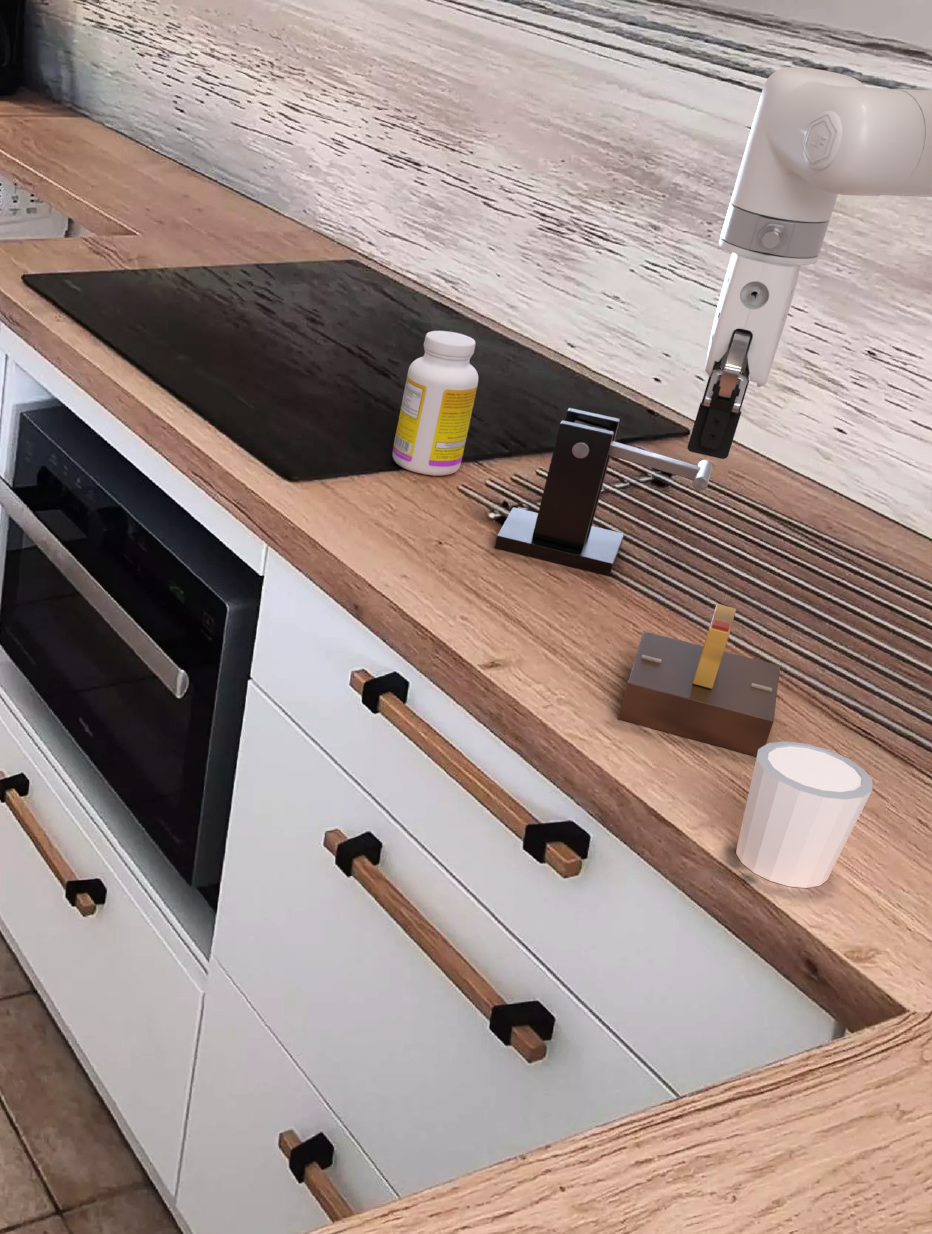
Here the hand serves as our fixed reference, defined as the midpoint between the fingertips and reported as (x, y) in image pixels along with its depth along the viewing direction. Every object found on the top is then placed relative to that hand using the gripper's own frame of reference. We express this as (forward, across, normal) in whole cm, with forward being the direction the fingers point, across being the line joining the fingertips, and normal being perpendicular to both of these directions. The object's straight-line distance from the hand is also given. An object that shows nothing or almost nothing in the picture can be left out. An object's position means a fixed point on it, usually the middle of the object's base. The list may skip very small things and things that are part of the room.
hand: (711, 437), depth 145 cm
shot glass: (+12, -45, -11) cm, 48 cm away
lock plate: (+12, -26, -4) cm, 29 cm away
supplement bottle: (+13, +13, +25) cm, 31 cm away
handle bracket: (+13, 0, +10) cm, 16 cm away
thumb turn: (+9, -26, -4) cm, 28 cm away
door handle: (+4, 0, +5) cm, 7 cm away
